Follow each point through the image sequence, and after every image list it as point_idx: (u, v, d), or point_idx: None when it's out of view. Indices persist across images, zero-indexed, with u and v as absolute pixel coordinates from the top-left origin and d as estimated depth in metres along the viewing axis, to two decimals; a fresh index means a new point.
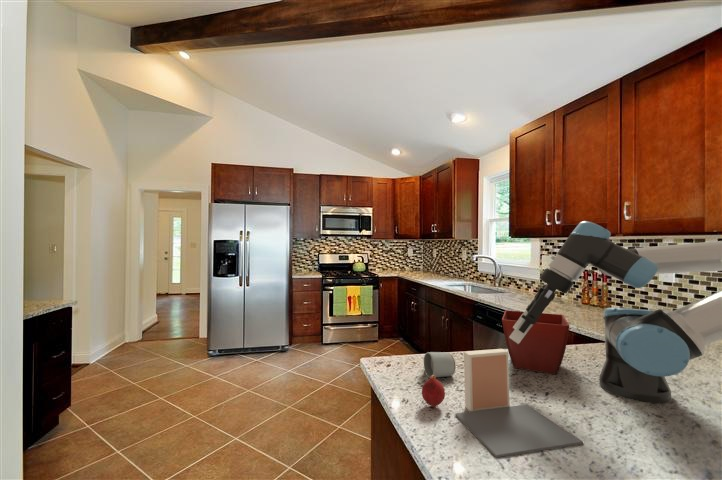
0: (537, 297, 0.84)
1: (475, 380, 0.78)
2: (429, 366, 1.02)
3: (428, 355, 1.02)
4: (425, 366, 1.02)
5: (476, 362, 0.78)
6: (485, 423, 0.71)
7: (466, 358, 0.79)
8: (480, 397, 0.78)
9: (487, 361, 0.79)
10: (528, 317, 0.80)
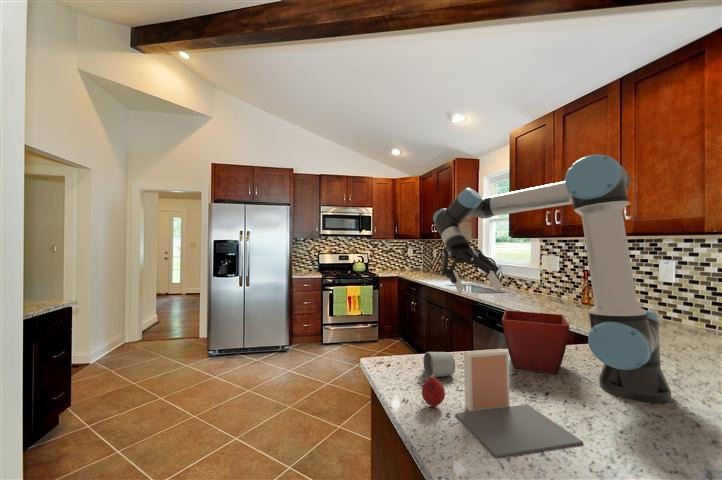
0: None
1: (475, 380, 0.78)
2: (428, 366, 1.03)
3: (428, 355, 1.02)
4: (425, 366, 1.02)
5: (476, 362, 0.78)
6: (485, 423, 0.71)
7: (466, 358, 0.79)
8: (480, 397, 0.78)
9: (487, 361, 0.79)
10: (442, 272, 1.00)
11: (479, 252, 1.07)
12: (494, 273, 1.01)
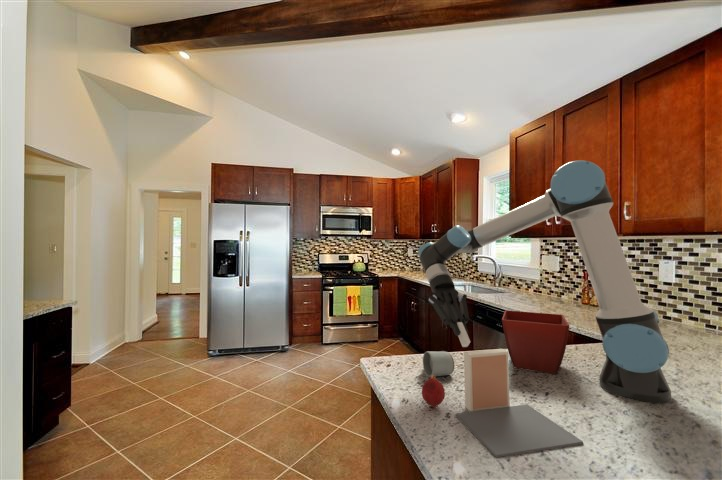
0: (442, 306, 0.99)
1: (475, 380, 0.78)
2: (428, 366, 1.03)
3: (427, 354, 1.03)
4: (424, 365, 1.03)
5: (476, 362, 0.78)
6: (485, 423, 0.71)
7: (466, 358, 0.79)
8: (480, 397, 0.78)
9: (487, 361, 0.79)
10: (445, 323, 0.94)
11: (463, 297, 1.00)
12: (463, 324, 0.93)
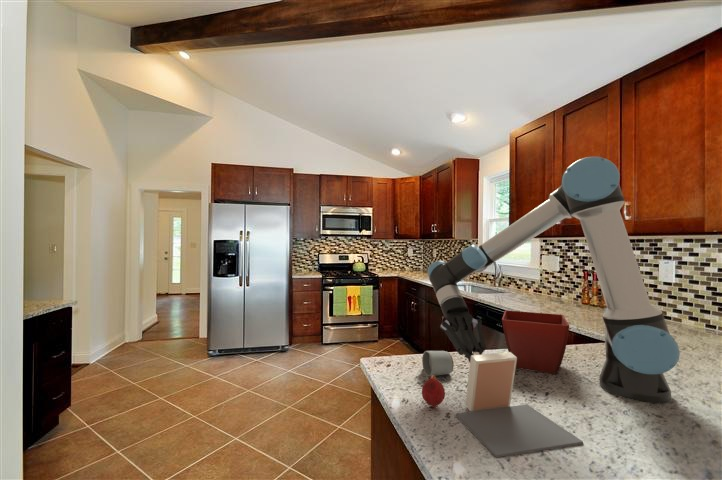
0: (456, 332, 0.91)
1: (479, 384, 0.76)
2: (427, 365, 1.04)
3: (427, 354, 1.03)
4: (424, 364, 1.04)
5: (483, 368, 0.75)
6: (485, 423, 0.71)
7: (473, 362, 0.76)
8: (482, 399, 0.77)
9: (494, 367, 0.76)
10: (459, 353, 0.86)
11: (478, 322, 0.92)
12: None
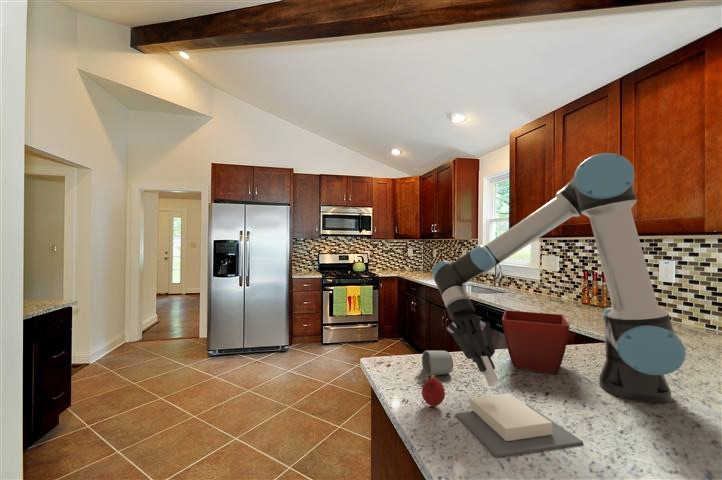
0: (463, 335, 0.88)
1: None
2: (427, 365, 1.04)
3: (426, 353, 1.04)
4: (423, 364, 1.04)
5: None
6: (485, 423, 0.71)
7: (502, 431, 0.65)
8: None
9: None
10: (467, 357, 0.82)
11: (486, 325, 0.88)
12: (489, 359, 0.81)
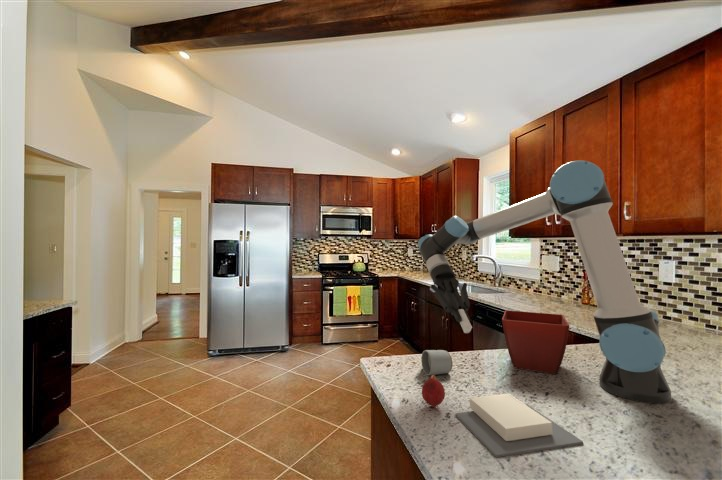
0: (443, 295, 1.01)
1: None
2: (426, 364, 1.05)
3: (426, 353, 1.04)
4: (423, 364, 1.04)
5: None
6: (485, 423, 0.71)
7: (502, 431, 0.65)
8: None
9: None
10: (446, 311, 0.96)
11: (464, 285, 1.02)
12: (465, 311, 0.95)
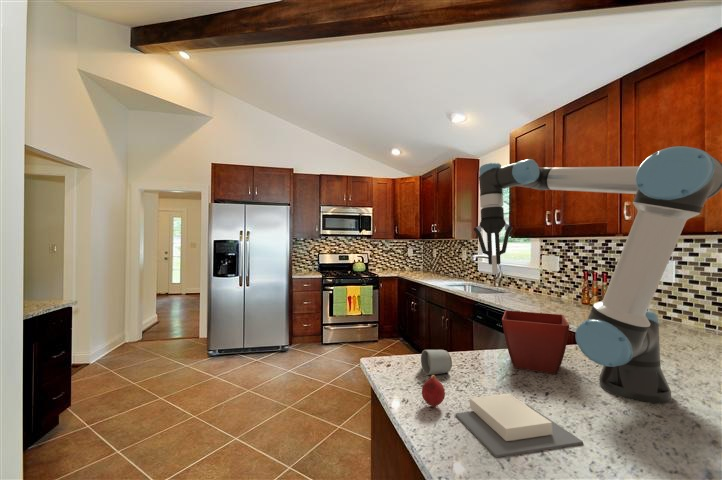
0: None
1: None
2: (426, 364, 1.05)
3: (425, 352, 1.05)
4: (422, 363, 1.05)
5: None
6: (485, 423, 0.71)
7: (502, 431, 0.65)
8: None
9: None
10: None
11: (508, 229, 1.07)
12: (498, 257, 1.09)
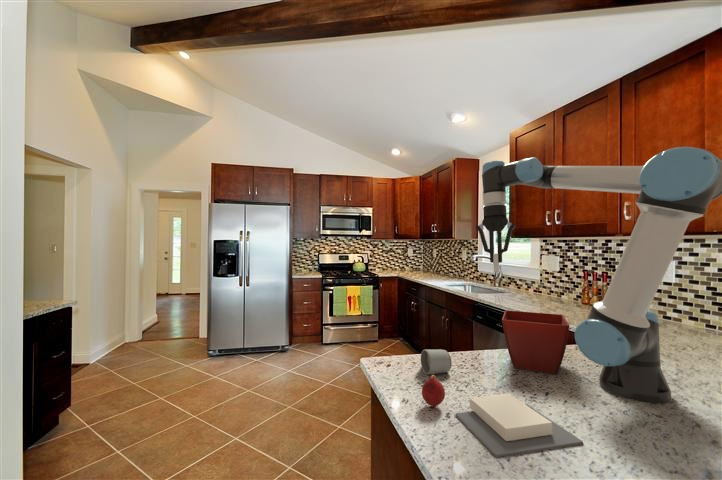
0: None
1: None
2: (425, 363, 1.05)
3: (425, 352, 1.05)
4: (422, 363, 1.05)
5: None
6: (485, 423, 0.71)
7: (502, 431, 0.65)
8: None
9: None
10: None
11: (510, 227, 1.07)
12: (499, 255, 1.09)
